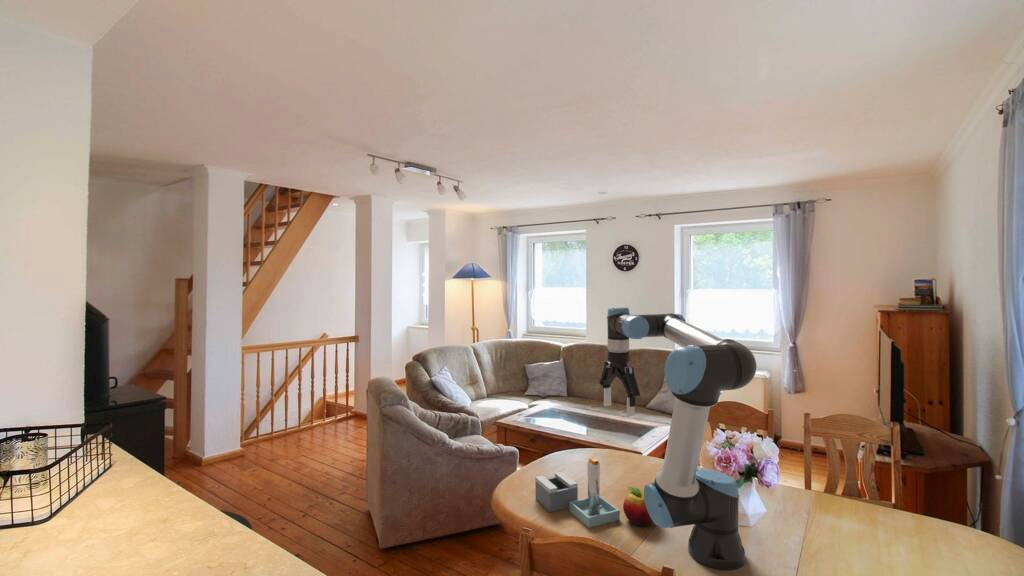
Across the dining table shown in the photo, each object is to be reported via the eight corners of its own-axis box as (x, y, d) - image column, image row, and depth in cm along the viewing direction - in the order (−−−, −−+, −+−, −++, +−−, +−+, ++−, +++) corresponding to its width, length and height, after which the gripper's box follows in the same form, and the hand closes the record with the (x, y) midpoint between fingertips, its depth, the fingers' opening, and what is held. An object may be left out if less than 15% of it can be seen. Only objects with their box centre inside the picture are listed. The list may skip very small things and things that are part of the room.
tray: (619, 519, 158) (619, 510, 158) (588, 527, 154) (588, 518, 154) (599, 504, 169) (598, 495, 169) (569, 511, 165) (569, 501, 165)
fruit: (637, 533, 150) (637, 501, 150) (616, 517, 160) (616, 487, 160) (664, 525, 155) (664, 494, 155) (641, 510, 165) (641, 481, 164)
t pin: (605, 516, 159) (604, 462, 159) (595, 519, 157) (594, 464, 157) (593, 507, 166) (592, 454, 165) (583, 509, 164) (582, 456, 164)
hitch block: (577, 505, 168) (577, 483, 168) (549, 512, 164) (549, 489, 164) (562, 492, 178) (561, 471, 178) (535, 498, 174) (535, 476, 174)
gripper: (650, 355, 160) (650, 418, 160) (606, 345, 182) (607, 400, 183) (632, 357, 157) (632, 421, 157) (589, 346, 179) (590, 403, 180)
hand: (618, 410), depth 170 cm, fingers open, 13 cm apart
